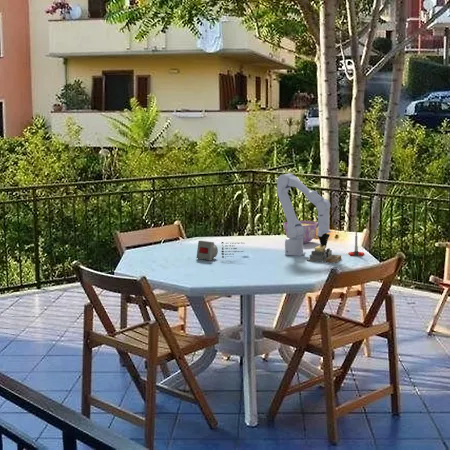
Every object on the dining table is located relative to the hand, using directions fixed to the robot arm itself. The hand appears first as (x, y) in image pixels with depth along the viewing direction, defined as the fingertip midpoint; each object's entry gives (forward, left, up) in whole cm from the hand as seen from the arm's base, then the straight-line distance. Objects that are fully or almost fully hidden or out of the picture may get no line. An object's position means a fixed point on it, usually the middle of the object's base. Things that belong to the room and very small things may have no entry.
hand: (323, 247), depth 422 cm
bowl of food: (-25, +38, -5) cm, 46 cm away
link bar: (0, -7, -2) cm, 8 cm away
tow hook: (+15, +10, -5) cm, 19 cm away
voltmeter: (-50, -22, -5) cm, 55 cm away
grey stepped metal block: (0, -6, -5) cm, 7 cm away
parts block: (+8, -10, -5) cm, 13 cm away
